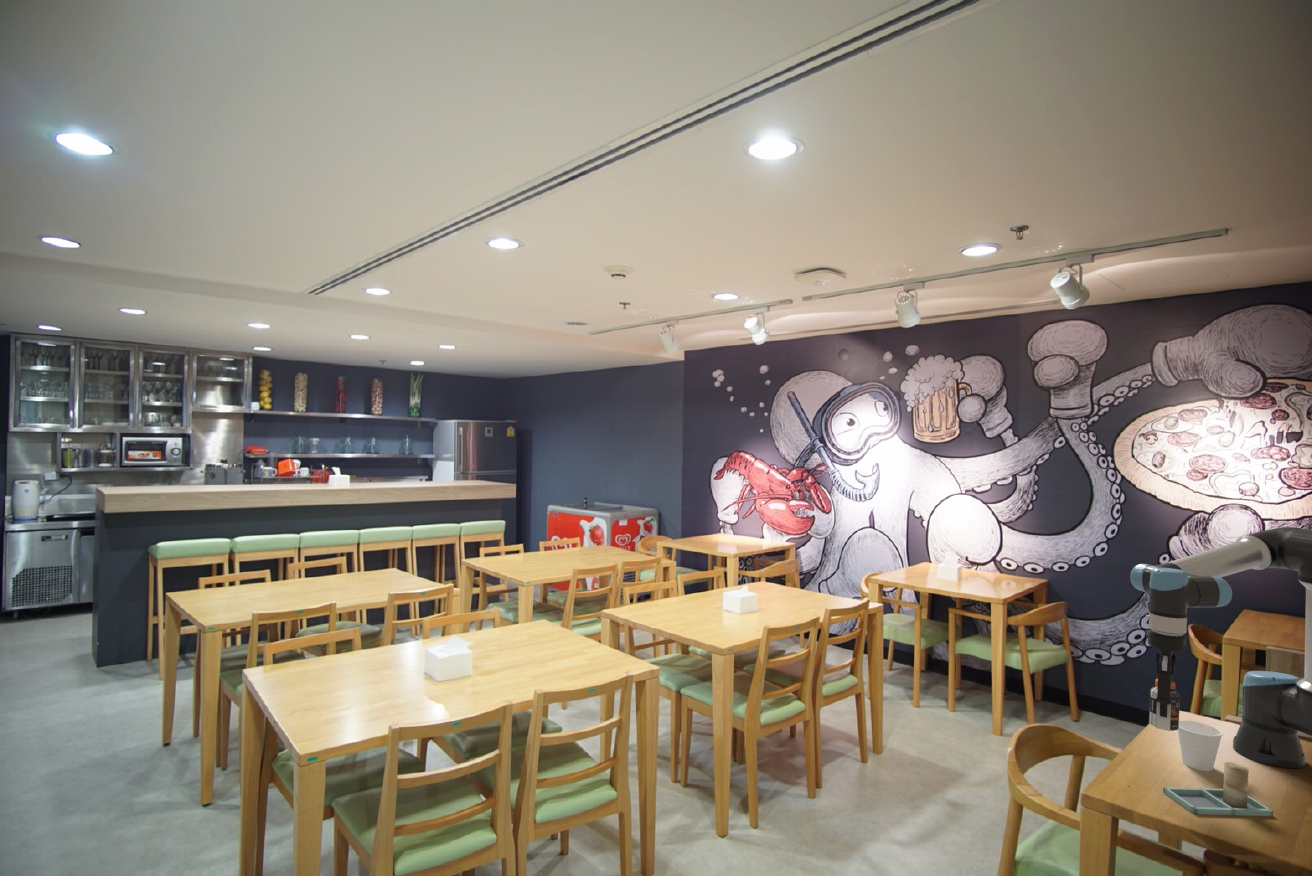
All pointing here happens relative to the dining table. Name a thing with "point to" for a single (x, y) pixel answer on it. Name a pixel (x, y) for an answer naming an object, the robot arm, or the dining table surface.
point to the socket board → (1213, 802)
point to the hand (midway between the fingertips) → (1163, 724)
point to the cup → (1198, 744)
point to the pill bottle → (1174, 703)
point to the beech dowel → (1235, 785)
